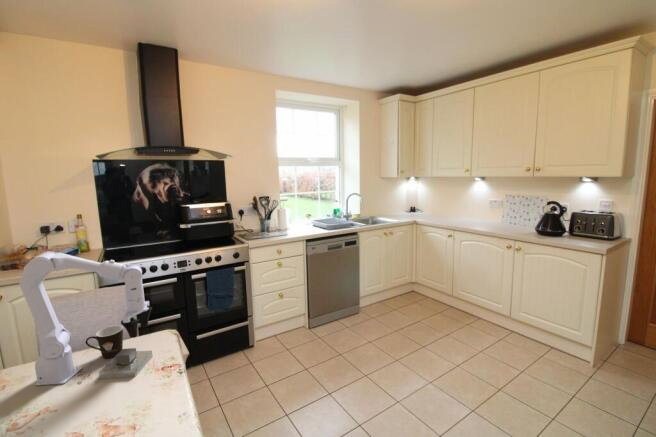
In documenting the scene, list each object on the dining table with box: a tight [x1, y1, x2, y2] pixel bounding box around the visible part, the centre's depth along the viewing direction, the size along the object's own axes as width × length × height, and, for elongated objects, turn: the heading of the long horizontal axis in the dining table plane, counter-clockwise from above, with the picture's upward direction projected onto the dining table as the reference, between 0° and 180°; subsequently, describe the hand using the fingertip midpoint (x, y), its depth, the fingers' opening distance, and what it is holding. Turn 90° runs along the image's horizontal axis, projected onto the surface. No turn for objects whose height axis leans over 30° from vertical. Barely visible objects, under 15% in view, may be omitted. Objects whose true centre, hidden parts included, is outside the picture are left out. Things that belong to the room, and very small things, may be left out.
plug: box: [116, 347, 137, 364], centre depth 112 cm, size 4×4×6 cm
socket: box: [98, 350, 154, 380], centre depth 112 cm, size 12×12×3 cm
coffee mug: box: [85, 324, 124, 361], centre depth 120 cm, size 12×9×10 cm
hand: (139, 331), depth 117 cm, fingers open, 7 cm apart
